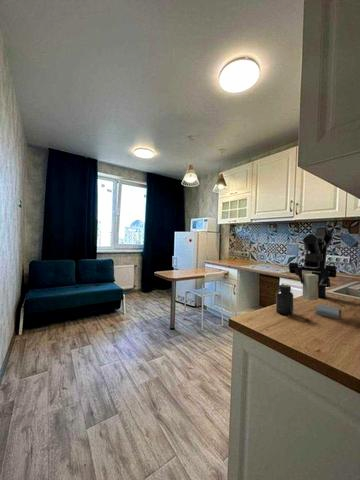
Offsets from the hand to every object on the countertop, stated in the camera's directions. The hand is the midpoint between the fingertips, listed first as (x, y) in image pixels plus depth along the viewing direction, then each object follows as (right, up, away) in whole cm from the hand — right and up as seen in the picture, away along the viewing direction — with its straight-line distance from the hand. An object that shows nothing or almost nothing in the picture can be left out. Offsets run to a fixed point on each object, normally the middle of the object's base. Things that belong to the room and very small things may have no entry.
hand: (310, 284), depth 93 cm
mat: (+8, -12, 0) cm, 15 cm away
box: (+1, -7, +1) cm, 7 cm away
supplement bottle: (-12, -12, -2) cm, 18 cm away
